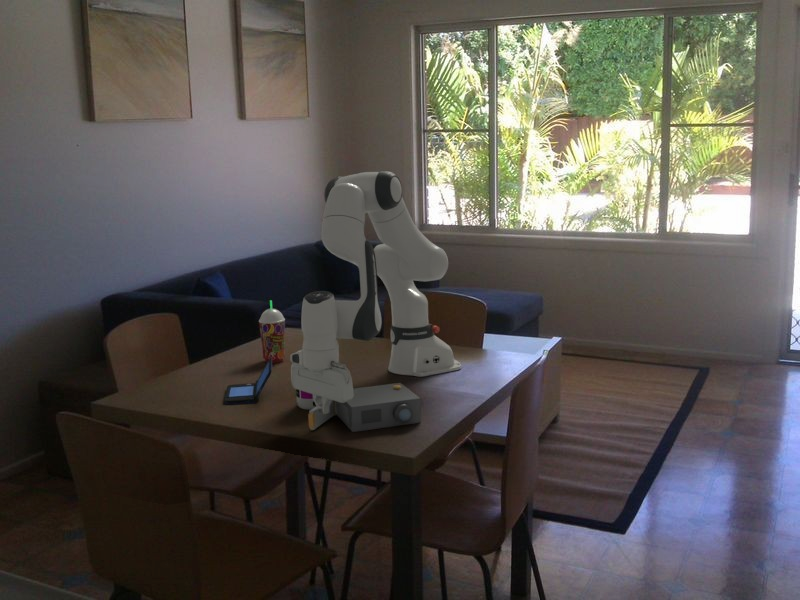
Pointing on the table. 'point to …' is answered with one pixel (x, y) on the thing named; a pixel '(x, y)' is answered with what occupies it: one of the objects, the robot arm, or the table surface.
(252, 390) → the handheld game console
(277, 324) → the smoothie
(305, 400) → the supplement can
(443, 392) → the table surface
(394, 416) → the camera body
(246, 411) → the table surface
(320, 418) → the side door
